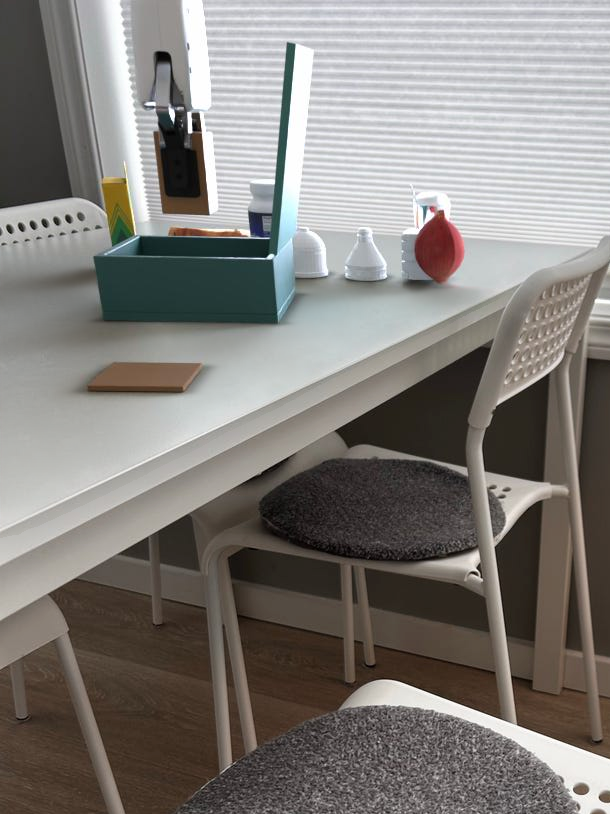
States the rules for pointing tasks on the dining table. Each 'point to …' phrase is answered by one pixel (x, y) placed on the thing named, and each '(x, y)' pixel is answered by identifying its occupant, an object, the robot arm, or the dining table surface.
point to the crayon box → (118, 208)
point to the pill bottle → (261, 208)
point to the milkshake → (428, 206)
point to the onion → (439, 248)
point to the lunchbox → (195, 279)
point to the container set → (353, 257)
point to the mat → (145, 377)
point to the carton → (207, 179)
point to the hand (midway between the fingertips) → (189, 192)
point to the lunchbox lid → (290, 145)
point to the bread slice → (208, 232)
